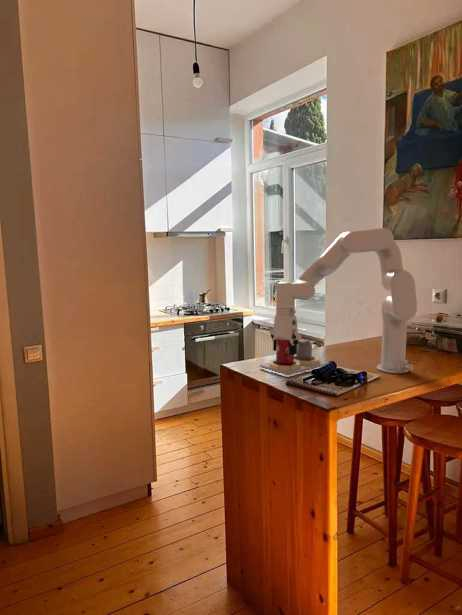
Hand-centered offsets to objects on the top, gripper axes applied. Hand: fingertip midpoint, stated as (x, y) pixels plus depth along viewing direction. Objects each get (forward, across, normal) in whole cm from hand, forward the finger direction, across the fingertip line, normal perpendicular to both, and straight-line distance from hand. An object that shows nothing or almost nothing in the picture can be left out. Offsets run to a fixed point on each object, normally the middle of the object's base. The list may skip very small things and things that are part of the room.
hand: (284, 352), depth 190 cm
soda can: (+6, 0, 0) cm, 6 cm away
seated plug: (+6, 0, -12) cm, 13 cm away
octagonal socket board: (+8, 0, -6) cm, 10 cm away
